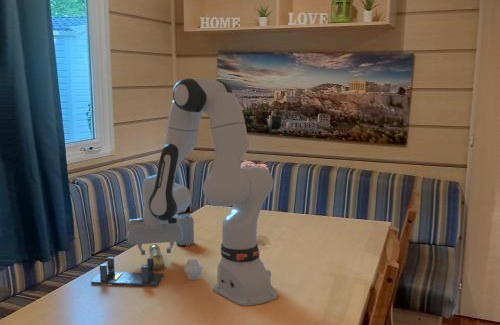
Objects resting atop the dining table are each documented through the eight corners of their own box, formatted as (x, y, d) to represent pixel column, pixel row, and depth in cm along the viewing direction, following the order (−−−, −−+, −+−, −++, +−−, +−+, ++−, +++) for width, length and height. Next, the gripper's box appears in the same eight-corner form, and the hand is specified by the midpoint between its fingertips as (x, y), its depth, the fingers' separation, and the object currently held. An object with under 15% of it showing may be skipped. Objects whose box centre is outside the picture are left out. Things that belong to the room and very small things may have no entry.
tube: (164, 270, 177) (163, 259, 177) (152, 271, 176) (152, 260, 176) (159, 253, 194) (159, 243, 194) (149, 254, 193) (148, 244, 193)
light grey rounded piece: (185, 282, 166) (185, 262, 165) (182, 275, 172) (182, 256, 171) (203, 280, 168) (203, 260, 167) (200, 273, 174) (200, 254, 173)
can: (192, 246, 202) (192, 218, 200) (174, 246, 202) (173, 218, 200) (195, 240, 209) (194, 213, 207) (177, 240, 209) (176, 213, 207)
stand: (163, 276, 172) (162, 258, 171) (156, 286, 163) (155, 268, 162) (101, 274, 174) (100, 256, 173) (91, 284, 165) (90, 265, 164)
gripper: (126, 222, 178) (127, 258, 180) (183, 218, 183) (184, 254, 185) (126, 217, 184) (127, 252, 186) (181, 214, 189) (182, 248, 191)
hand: (156, 253), depth 186 cm, fingers open, 8 cm apart
